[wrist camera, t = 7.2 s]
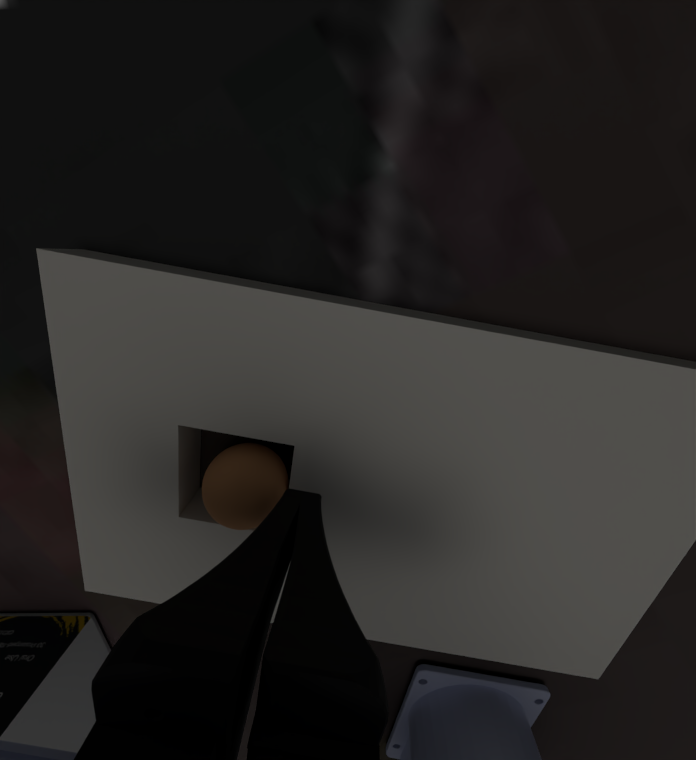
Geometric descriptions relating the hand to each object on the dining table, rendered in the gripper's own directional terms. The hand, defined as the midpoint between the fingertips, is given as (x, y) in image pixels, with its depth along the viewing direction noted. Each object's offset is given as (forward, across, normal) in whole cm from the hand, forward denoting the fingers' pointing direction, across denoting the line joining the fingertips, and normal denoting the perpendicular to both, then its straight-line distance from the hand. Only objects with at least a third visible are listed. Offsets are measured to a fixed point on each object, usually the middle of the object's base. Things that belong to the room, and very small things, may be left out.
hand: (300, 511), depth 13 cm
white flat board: (+3, -3, 0) cm, 4 cm away
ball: (+1, +2, 0) cm, 3 cm away
